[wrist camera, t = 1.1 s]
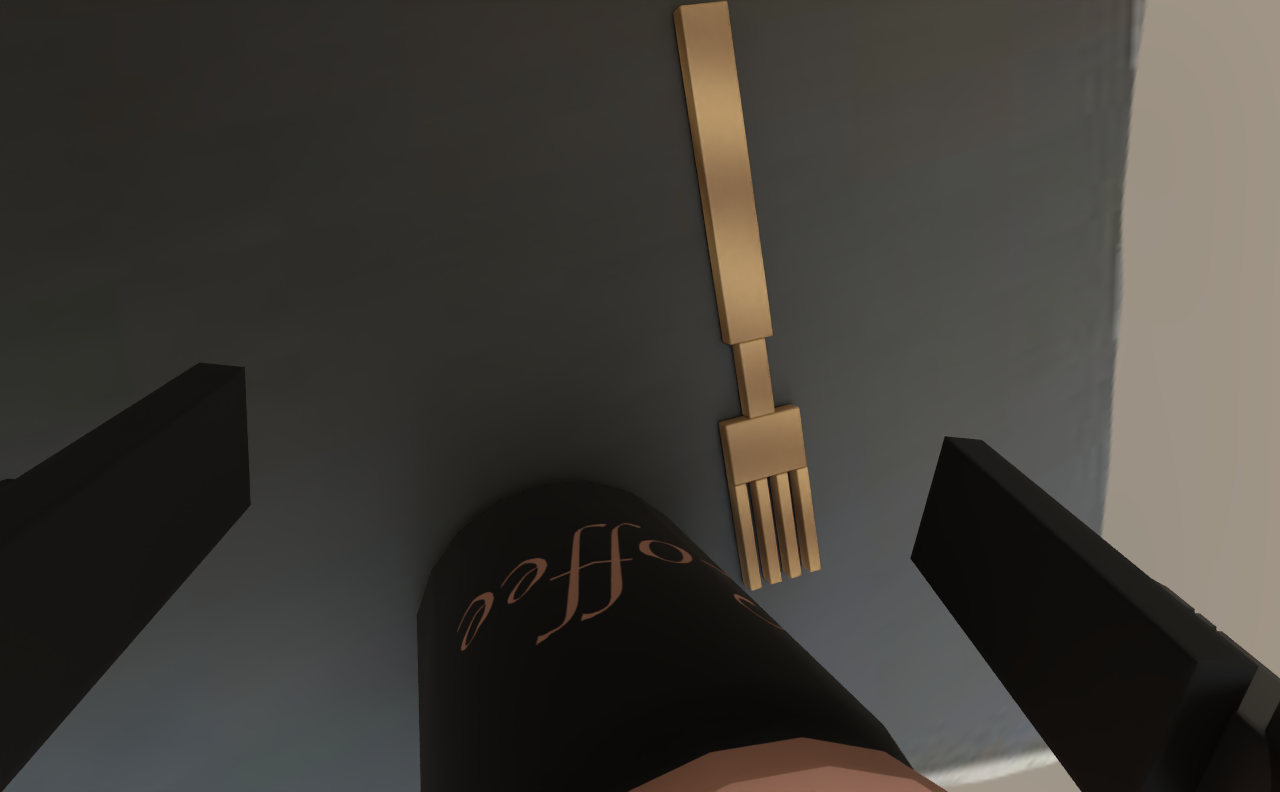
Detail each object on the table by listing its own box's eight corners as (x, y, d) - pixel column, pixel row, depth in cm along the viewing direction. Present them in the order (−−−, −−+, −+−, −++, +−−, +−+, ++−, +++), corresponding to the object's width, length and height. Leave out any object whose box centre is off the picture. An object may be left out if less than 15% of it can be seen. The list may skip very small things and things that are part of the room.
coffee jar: (712, 487, 31) (1094, 761, 14) (664, 736, 32) (960, 1277, 15) (438, 457, 27) (486, 769, 10) (396, 737, 28) (376, 1432, 11)
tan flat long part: (653, 14, 27) (661, 6, 26) (736, 5, 28) (745, -2, 27) (742, 583, 32) (751, 591, 31) (811, 562, 32) (821, 569, 32)
